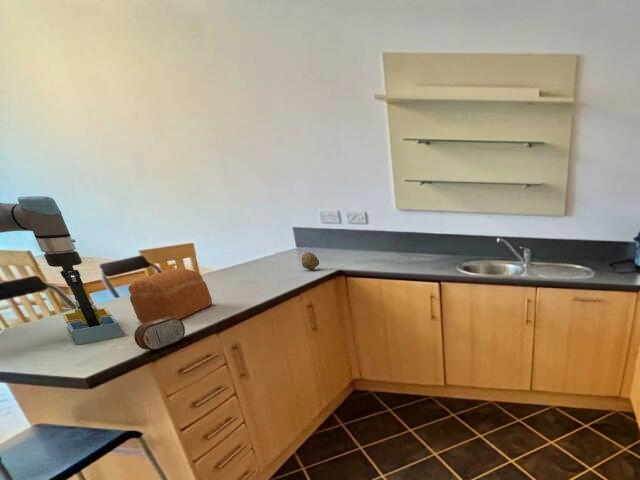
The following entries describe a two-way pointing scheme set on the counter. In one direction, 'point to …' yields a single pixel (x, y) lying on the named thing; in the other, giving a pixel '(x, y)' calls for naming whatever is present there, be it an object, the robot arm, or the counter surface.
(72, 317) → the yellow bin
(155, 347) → the tin
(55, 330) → the counter surface
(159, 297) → the bread
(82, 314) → the supplement bottle
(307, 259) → the natural sponge
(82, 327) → the blue bin
